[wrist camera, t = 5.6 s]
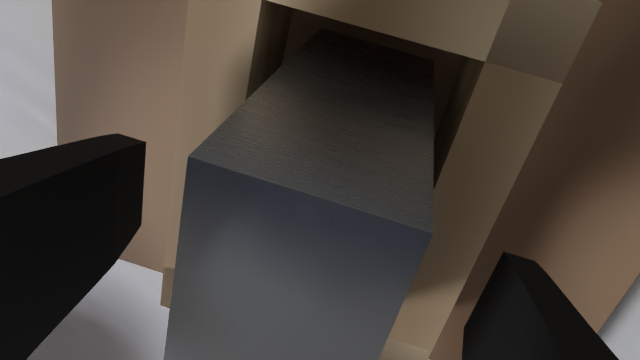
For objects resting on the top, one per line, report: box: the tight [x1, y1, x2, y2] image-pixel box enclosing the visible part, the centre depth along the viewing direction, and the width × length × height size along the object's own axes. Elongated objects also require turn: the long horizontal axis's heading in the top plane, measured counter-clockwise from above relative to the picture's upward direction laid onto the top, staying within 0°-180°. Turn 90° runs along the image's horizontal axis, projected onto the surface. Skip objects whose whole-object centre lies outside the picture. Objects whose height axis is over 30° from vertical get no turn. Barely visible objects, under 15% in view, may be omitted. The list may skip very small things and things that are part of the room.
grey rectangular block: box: [164, 28, 434, 360], centre depth 11 cm, size 3×6×8 cm, turn 167°
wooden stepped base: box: [52, 0, 640, 360], centre depth 14 cm, size 18×14×4 cm
